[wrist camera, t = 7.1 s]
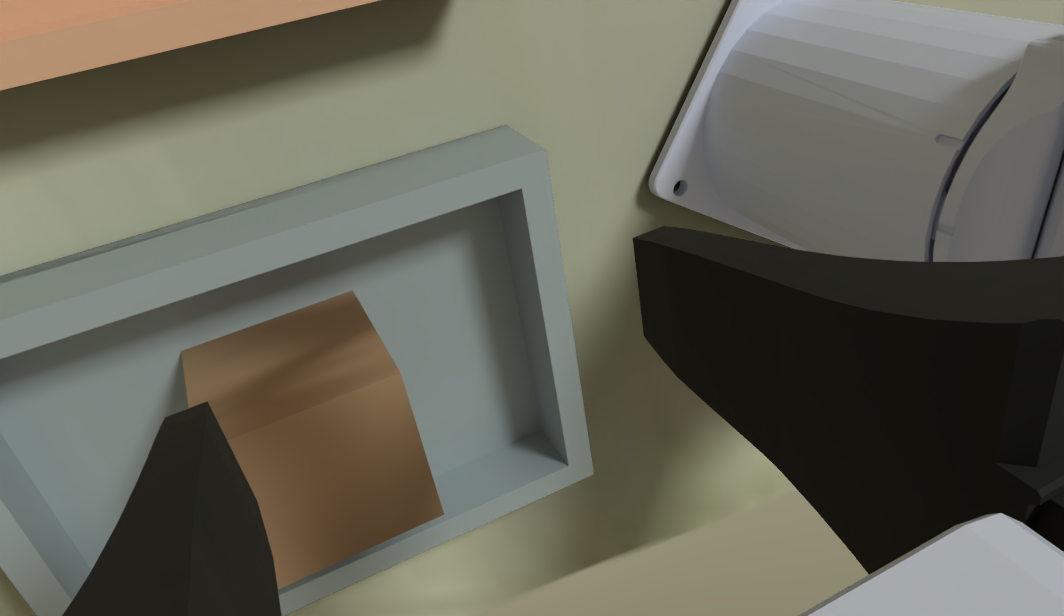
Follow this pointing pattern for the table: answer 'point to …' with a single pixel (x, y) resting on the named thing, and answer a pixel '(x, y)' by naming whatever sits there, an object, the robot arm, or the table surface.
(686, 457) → the table surface
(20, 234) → the table surface
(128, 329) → the slate tray
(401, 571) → the table surface
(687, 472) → the table surface
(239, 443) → the walnut block
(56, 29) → the terracotta holder
